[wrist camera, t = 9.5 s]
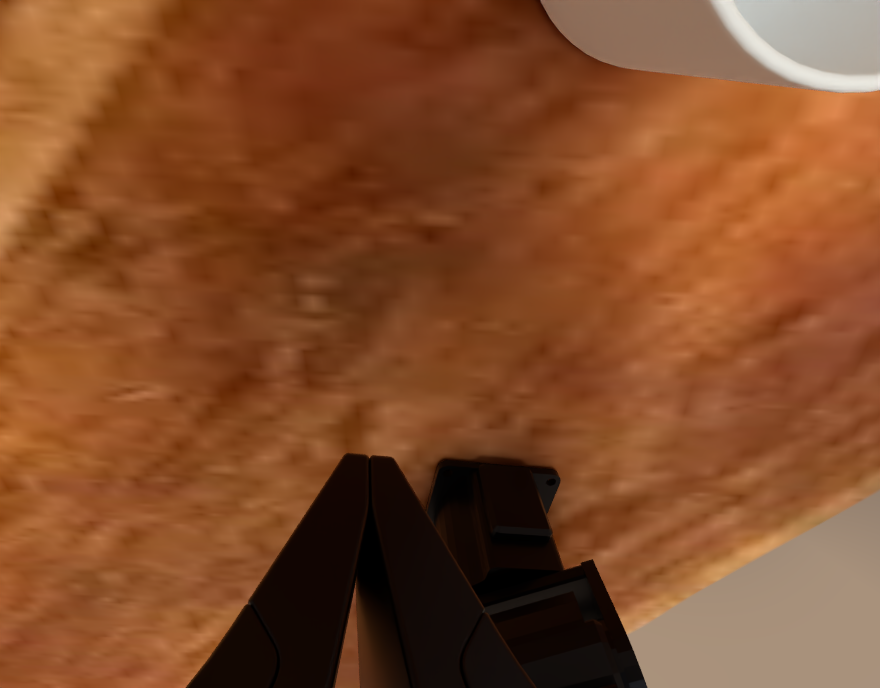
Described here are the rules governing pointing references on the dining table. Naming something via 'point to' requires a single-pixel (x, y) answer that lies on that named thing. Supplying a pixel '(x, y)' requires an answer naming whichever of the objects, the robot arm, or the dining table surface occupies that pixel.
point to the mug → (733, 39)
